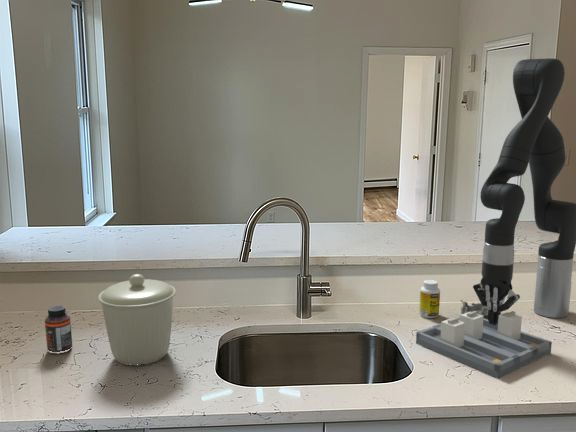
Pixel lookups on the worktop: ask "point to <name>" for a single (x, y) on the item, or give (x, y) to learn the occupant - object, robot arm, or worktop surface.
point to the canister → (138, 319)
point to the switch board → (488, 349)
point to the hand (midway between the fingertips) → (493, 323)
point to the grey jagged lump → (475, 309)
